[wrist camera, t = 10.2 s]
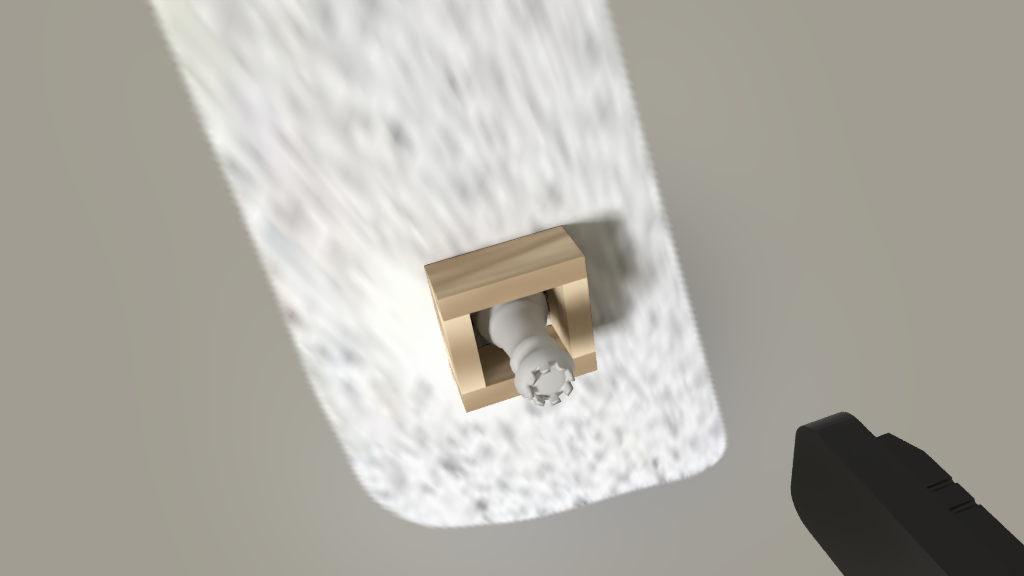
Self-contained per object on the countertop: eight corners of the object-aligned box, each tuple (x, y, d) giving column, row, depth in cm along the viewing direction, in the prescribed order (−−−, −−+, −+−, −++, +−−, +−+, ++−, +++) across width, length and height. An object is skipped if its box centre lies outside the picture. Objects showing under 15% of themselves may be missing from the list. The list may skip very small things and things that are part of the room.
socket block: (424, 266, 41) (437, 300, 38) (561, 225, 42) (584, 255, 40) (452, 375, 46) (466, 412, 43) (575, 335, 47) (597, 369, 44)
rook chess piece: (556, 289, 45) (610, 371, 38) (509, 343, 46) (553, 432, 39) (501, 255, 42) (548, 336, 36) (452, 313, 43) (490, 402, 37)
